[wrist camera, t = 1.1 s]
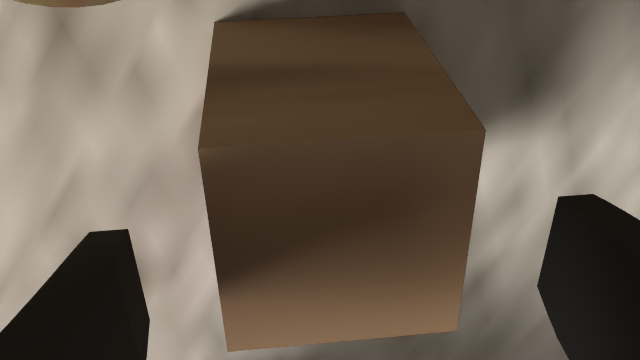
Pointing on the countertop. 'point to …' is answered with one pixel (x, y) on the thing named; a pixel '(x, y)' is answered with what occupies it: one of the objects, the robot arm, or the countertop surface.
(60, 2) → the balance
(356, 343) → the countertop surface
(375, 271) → the walnut block
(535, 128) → the countertop surface
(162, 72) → the countertop surface
